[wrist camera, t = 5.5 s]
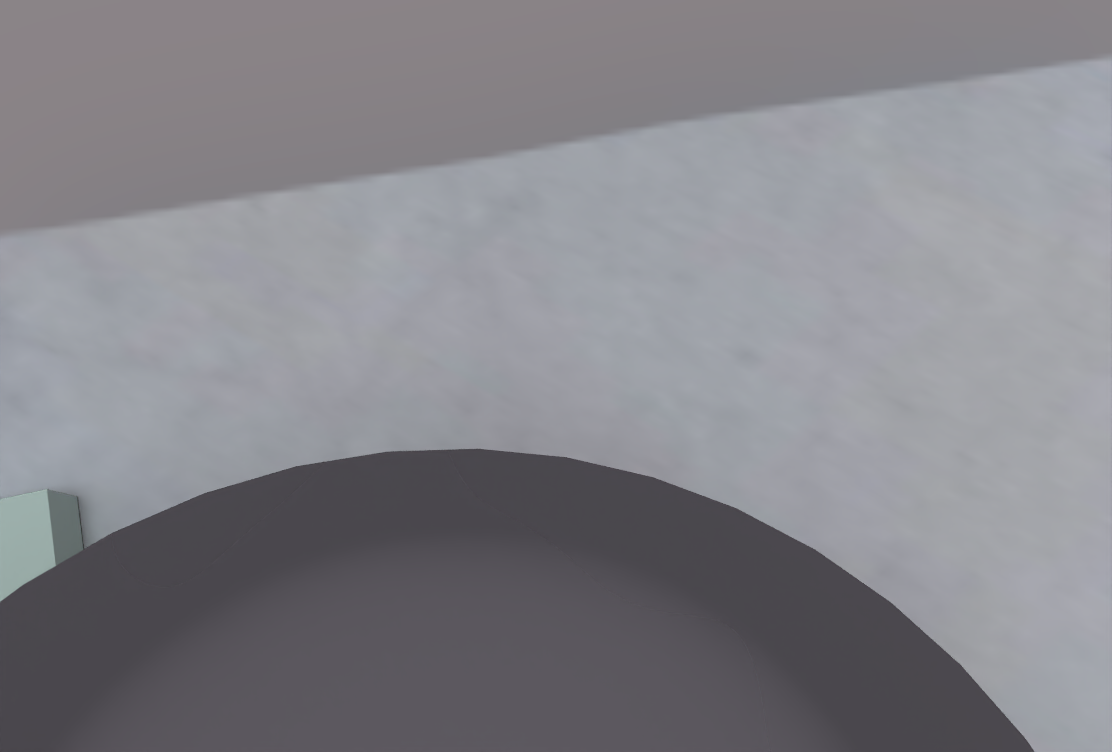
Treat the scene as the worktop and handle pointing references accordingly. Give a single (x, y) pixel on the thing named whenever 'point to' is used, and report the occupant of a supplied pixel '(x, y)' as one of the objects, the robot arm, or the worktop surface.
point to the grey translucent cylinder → (470, 625)
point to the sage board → (36, 536)
